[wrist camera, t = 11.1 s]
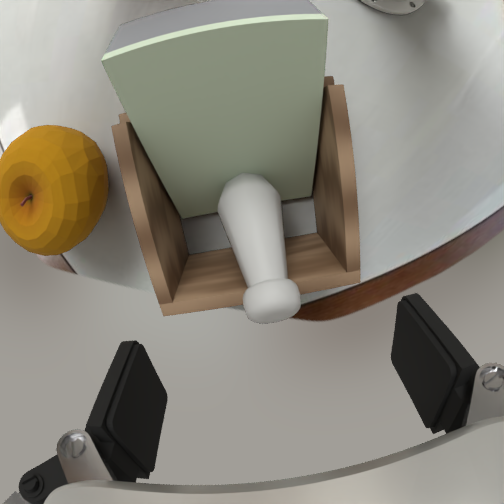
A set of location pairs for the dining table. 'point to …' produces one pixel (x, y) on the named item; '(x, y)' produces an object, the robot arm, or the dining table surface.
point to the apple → (52, 189)
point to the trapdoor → (224, 94)
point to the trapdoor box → (224, 261)
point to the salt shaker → (259, 247)
